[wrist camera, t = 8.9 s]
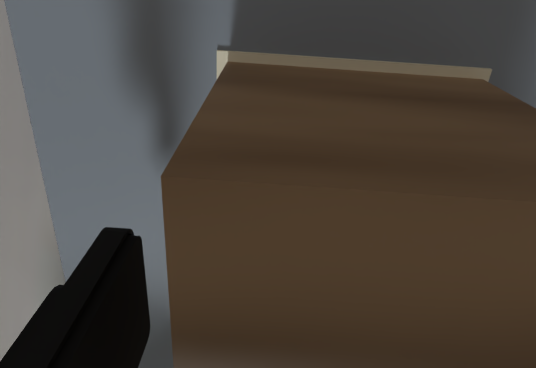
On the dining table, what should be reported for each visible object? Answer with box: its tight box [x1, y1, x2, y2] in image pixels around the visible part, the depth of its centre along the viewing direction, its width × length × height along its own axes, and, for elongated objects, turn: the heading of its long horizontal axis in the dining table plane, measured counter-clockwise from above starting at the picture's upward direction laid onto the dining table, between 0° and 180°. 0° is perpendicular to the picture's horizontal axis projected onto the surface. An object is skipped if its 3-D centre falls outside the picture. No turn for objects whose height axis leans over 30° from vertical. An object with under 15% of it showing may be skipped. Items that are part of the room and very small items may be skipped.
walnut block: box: [161, 62, 536, 368], centre depth 9 cm, size 9×6×6 cm, turn 177°
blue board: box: [4, 0, 536, 368], centre depth 12 cm, size 14×16×1 cm
